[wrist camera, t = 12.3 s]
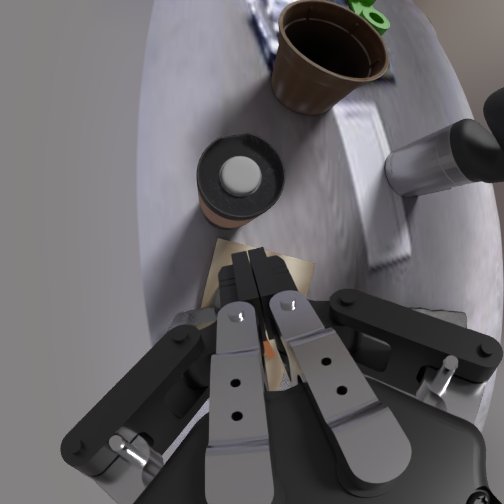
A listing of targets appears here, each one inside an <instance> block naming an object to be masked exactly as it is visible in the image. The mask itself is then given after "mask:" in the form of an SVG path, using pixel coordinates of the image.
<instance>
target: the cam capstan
mask: <svg viewBox="0 0 504 504" xmlns="http://www.w3.org/2000/svg"><path fill="white" fill-rule="evenodd" d="M220 310H221V305H220V293H219V286H218V288H217V290H216V292H215V296H214V305H210V306H206V307H202V308H198V309H194V310H190V311H186V312H181V313H178V314H177V315H176V316H175V317H174V320H173V322H172V324H171V326H170V329H169V330H171V329H172V328H174V327H176V326H179V325H184V324H189V325H193V326H195V325H199V324H203V323H207V322H211V321H215V320H217V315H218V312H219V311H220ZM263 321H264V320H263ZM264 326H265V324H264ZM265 331H266V328H265ZM266 337H267V336H266ZM263 343H264V348H265V354H266V356H267V358H268V360H270V359H272V358H274V357H276V355H275V353H274V351H273V349H272V347H271V345H270V343H269V340H268V338H267V341H264V342H263Z"/></svg>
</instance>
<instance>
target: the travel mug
mask: <svg viewBox="0 0 504 504" xmlns="http://www.w3.org/2000/svg"><path fill="white" fill-rule="evenodd" d="M284 183H285V170H284V165H283V162H282V160H281V157H280V156H279V154H278V153H277V151H276V150H275V149H274V148H273V147H272V146H271V145H270V144H269V143H268V142H267V141H265V140H264V139H262V138H260V137H258V136H256V135H253V134H249V133H247V134H242V135H233V136H226V137H219V138H217V139H216V140H215V141H213V142H212V143H211V144H210V145H209V146H208V147H207V148H206V149H205V151H204V152H203V154H202V156H201V158H200V160H199V163H198V167H197V186H198V195H199V202H200V206H201V209H202V211H203V214H204V216H205V218H206V219H207V221H208V222H209V223H210V224H212V225H213V226H215V227H217V228H219V229H224V230H228V229H234V228H237V227H240V226H243V225H245V224H247V223H249V222H250V221H252V220H253V219H255V218H256V217H258V216H259V215H261V214H263V213H264V212H266V211H267V210H268V209H270V208H271V207H272V206H273V205H274V204H275V203H276V201H277V200H278V199H279V197H280V195H281V193H282V190H283V187H284Z"/></svg>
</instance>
